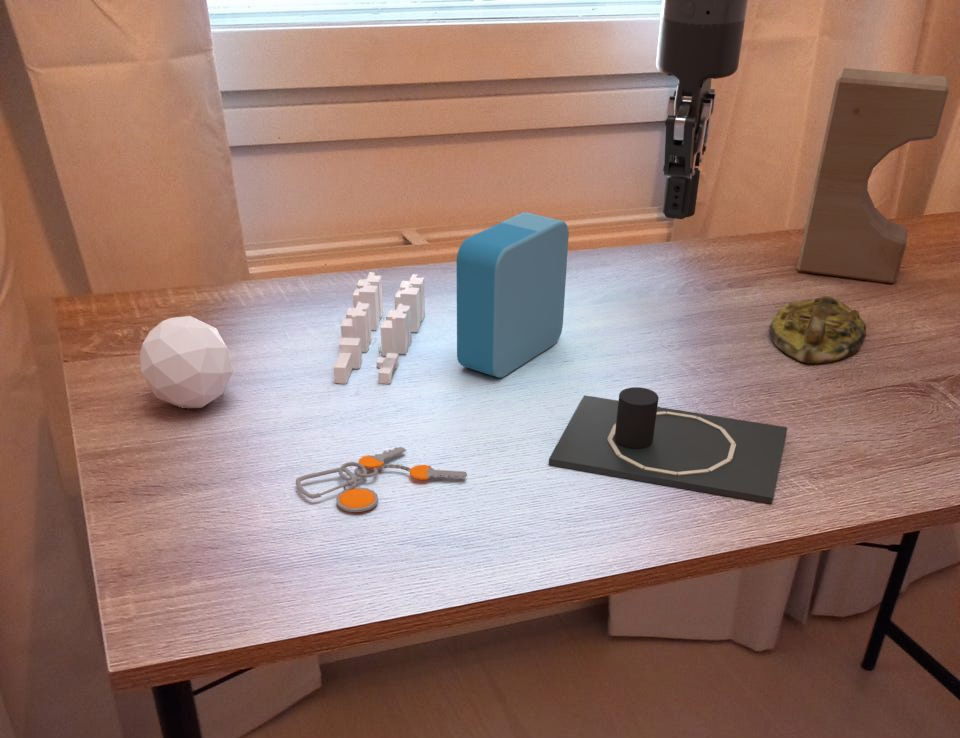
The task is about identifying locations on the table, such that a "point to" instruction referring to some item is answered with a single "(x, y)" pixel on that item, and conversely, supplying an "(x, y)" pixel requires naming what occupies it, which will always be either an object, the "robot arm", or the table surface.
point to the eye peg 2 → (692, 193)
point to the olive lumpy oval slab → (818, 330)
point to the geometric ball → (185, 362)
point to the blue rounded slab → (510, 292)
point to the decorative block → (865, 171)
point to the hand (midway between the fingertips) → (678, 210)
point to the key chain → (365, 497)
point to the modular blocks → (367, 319)
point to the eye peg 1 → (636, 417)
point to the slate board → (677, 451)
